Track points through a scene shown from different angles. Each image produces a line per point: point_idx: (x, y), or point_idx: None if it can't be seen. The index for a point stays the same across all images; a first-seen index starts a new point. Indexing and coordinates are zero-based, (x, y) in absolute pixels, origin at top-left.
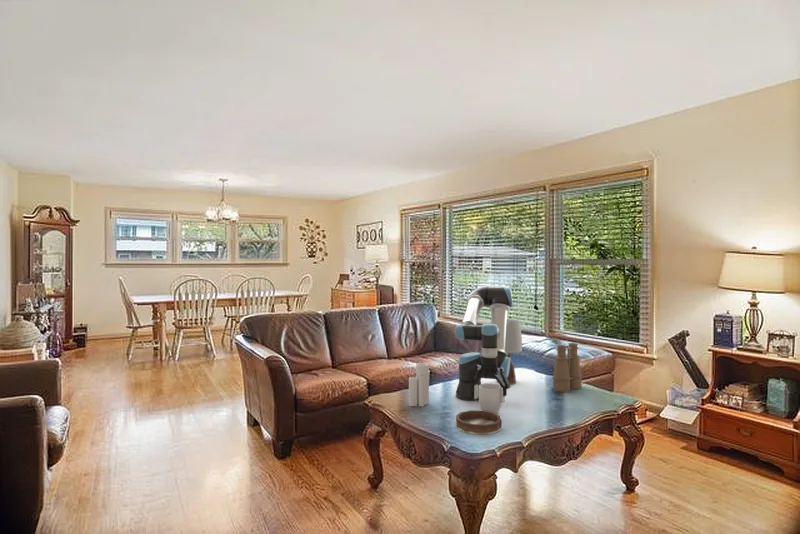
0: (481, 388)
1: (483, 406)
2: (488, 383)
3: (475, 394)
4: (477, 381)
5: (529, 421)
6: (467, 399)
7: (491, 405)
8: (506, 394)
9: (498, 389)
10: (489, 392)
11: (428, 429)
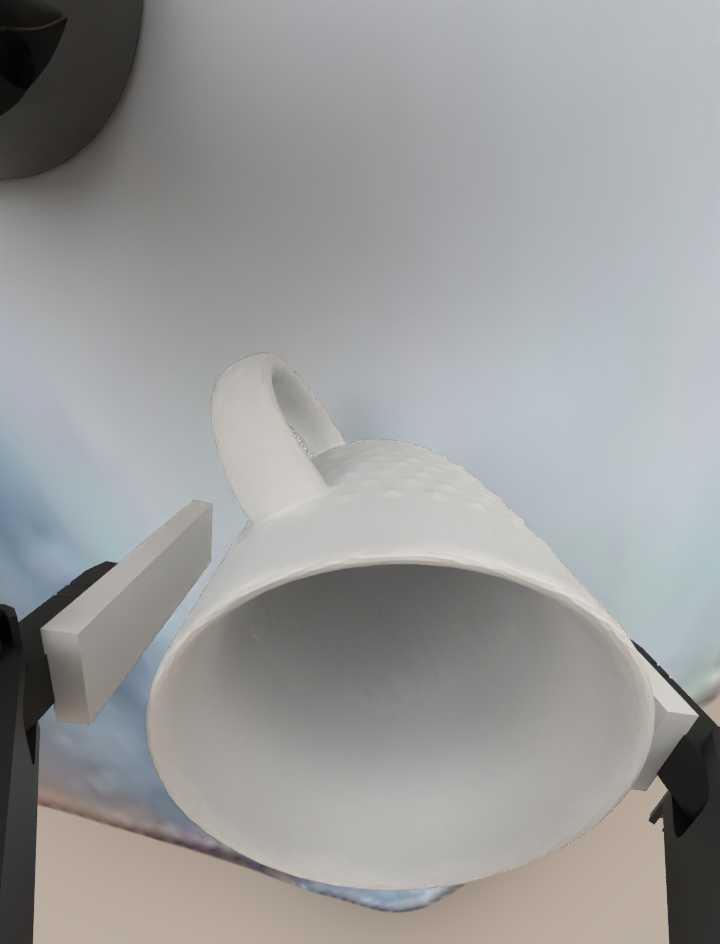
0: (274, 855)
1: (334, 622)
2: (295, 576)
3: (177, 598)
4: (34, 846)
5: (675, 568)
6: (6, 172)
7: (413, 645)
8: (643, 654)
9: (571, 822)
10: (414, 818)
11: (150, 818)
